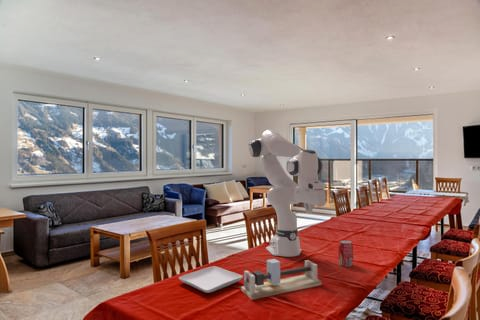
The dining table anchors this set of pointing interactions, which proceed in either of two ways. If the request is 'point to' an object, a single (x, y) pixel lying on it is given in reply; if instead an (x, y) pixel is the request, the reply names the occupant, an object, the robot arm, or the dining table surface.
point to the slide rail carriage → (273, 271)
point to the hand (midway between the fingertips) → (308, 213)
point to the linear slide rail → (259, 288)
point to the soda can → (345, 253)
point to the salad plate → (210, 279)
